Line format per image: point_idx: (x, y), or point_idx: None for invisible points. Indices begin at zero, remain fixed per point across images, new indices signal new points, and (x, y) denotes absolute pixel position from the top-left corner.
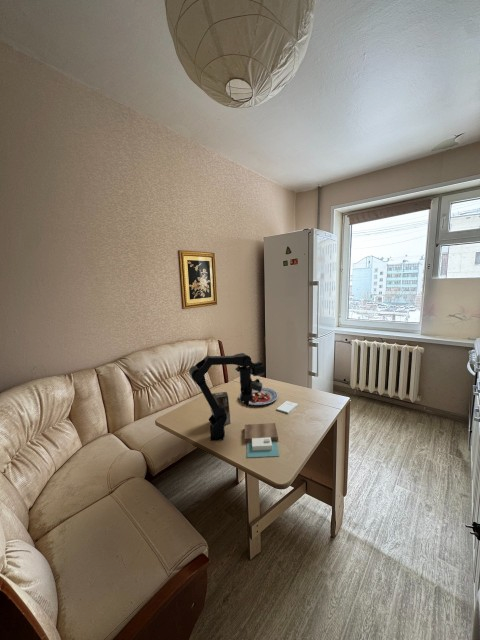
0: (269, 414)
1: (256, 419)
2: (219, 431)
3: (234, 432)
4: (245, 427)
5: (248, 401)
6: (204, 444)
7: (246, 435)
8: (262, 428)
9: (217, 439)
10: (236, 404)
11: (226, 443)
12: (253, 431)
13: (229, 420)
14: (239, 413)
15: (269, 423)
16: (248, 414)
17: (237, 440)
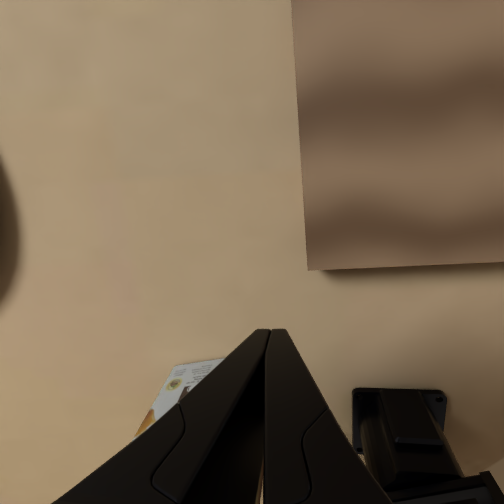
0: (75, 49)
1: (172, 172)
2: (456, 460)
3: (354, 326)
4: (352, 262)
5: (330, 419)
6: (466, 475)
7: (487, 247)
8: (389, 92)
9: (443, 424)
10: (3, 330)
11: (484, 368)
12: (430, 186)
13: None
14: (109, 306)
15: (293, 11)
16: (110, 242)
17: (462, 302)
